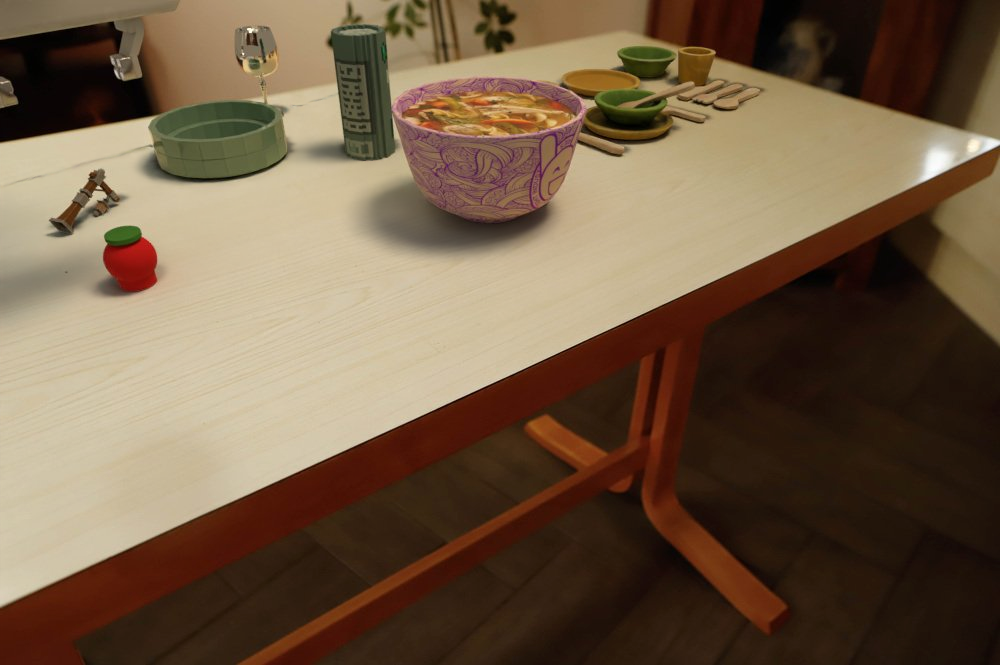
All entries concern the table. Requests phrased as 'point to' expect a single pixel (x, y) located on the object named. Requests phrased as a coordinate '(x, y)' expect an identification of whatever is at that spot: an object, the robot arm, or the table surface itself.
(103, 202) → the wooden post with brackets
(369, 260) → the table surface
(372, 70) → the can
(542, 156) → the bowl of food
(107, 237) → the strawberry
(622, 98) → the tableware set
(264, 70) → the wineglass
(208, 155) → the bowl
